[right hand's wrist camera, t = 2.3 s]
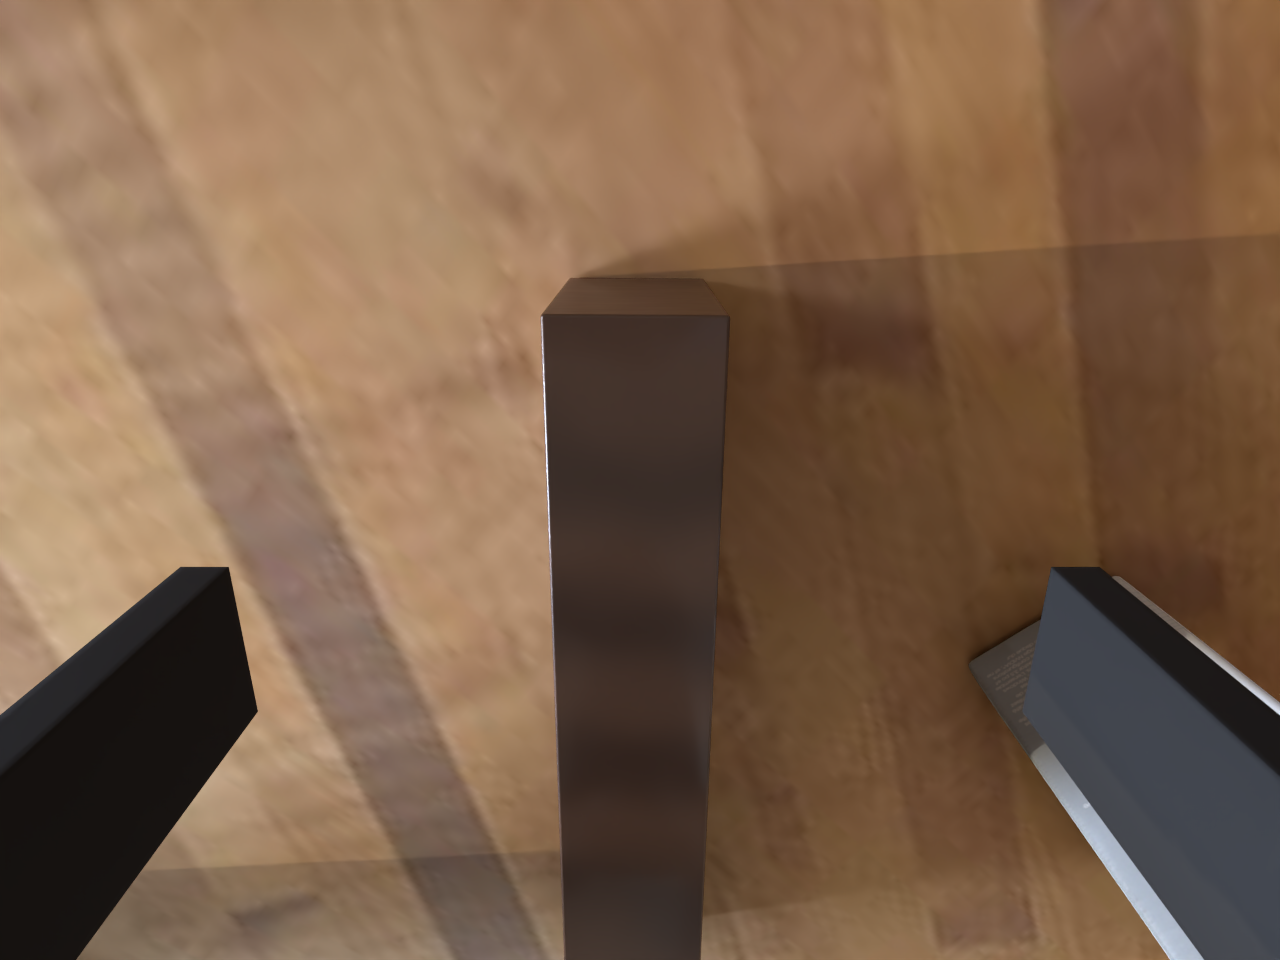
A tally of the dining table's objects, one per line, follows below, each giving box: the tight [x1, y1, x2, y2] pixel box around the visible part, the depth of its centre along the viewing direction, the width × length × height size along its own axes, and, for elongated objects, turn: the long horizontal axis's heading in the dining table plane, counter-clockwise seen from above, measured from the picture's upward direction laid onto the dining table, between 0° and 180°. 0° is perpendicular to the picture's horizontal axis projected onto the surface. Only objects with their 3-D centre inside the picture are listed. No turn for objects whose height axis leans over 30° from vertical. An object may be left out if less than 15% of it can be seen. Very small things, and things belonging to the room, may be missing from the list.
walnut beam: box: [541, 278, 730, 960], centre depth 30 cm, size 32×5×9 cm, turn 0°
